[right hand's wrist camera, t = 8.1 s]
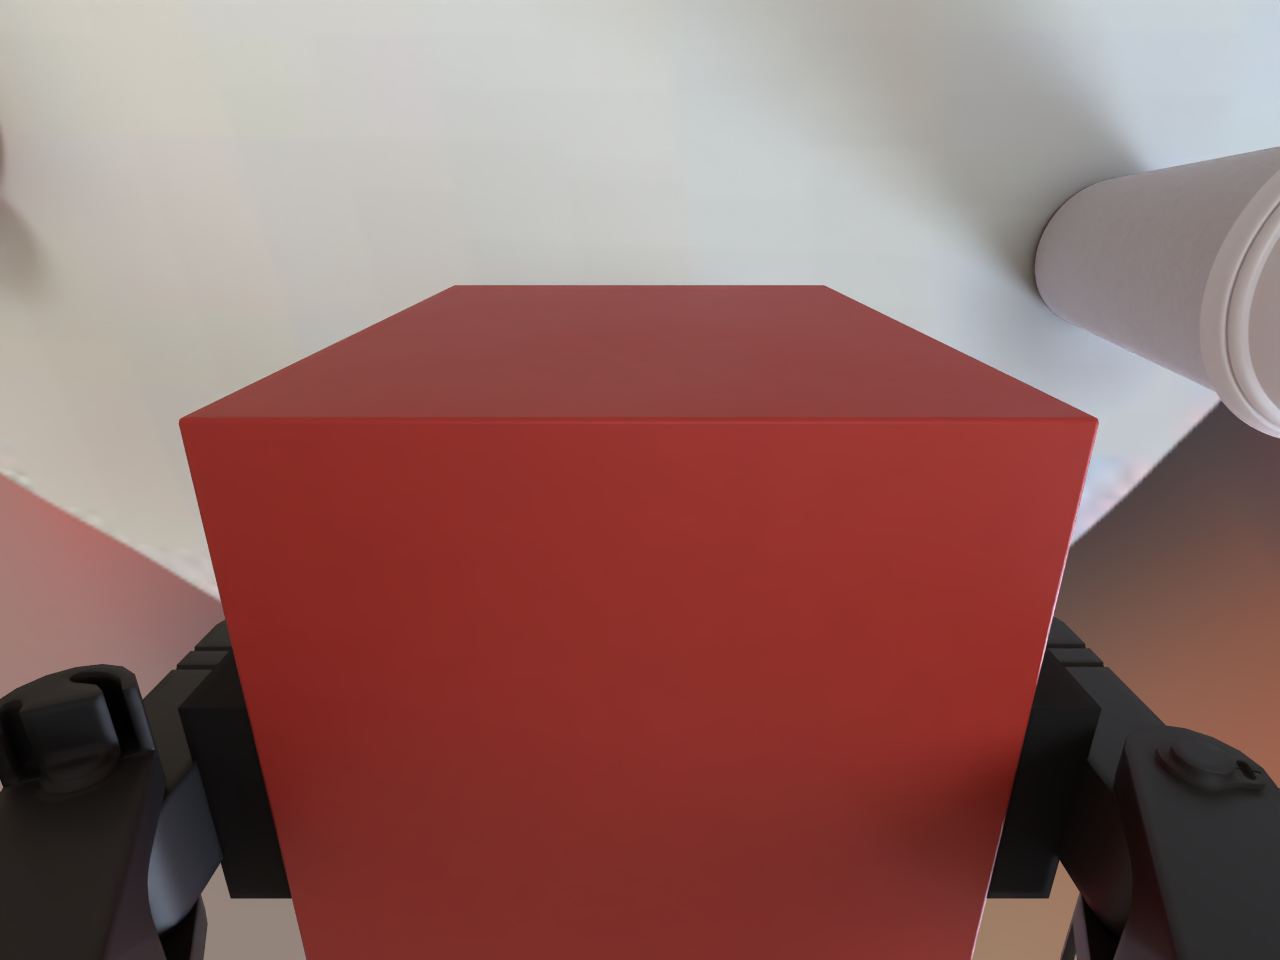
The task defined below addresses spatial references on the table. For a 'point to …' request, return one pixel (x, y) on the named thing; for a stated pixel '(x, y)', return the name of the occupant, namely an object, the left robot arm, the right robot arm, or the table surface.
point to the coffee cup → (1179, 273)
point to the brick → (639, 622)
